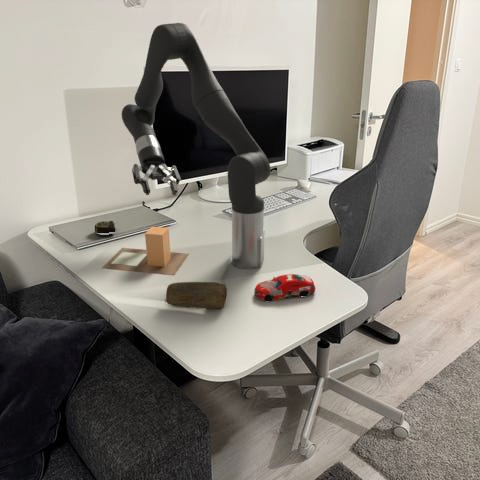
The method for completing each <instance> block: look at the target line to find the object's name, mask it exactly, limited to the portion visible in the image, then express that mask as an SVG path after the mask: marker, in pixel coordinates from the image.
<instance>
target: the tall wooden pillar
mask: <svg viewBox="0 0 480 480" xmlns="http://www.w3.org/2000/svg"><path fill="white" fill-rule="evenodd" d="M169 229H170V228H169V227H160V226H159V227H158V226H151V227H150V228H149V229H148V230H147V231H146V232H145V233H144V237H145V248H146V249H145V250H147V261H148V265H152V266H163V267H165V266H166V264H167V263H168V262H169V261H170V259H171V254H170V252H171V243H170V230H169Z"/></svg>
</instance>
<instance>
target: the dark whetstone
mask: <svg viewBox="0 0 480 480" xmlns="http://www.w3.org/2000/svg"><path fill="white" fill-rule="evenodd" d="M166 287H167V288H166V295H165V297H166V298H165V300H166V303H167V305H170V306H172V307H178V308H179V307H180V308H189V309H190V308H192V309H193V308H195V309H196V308H197V309H198V308H200V309H202V308H203V309H211V308H212V309H215V308H217V309H218V308H224V307H225V305H226V301H227V296H228V288H227V285H226V283H223V282H215V281H212V282H211V281H184V282H183V281H182V282H174V283H170V284H168V286H166Z"/></svg>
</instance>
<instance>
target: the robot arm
mask: <svg viewBox="0 0 480 480" xmlns="http://www.w3.org/2000/svg"><path fill="white" fill-rule="evenodd" d="M178 59H180V60H182V62H183V63H184V65H185V66H186V68H187V71H188V73H189V75H190V78H191V100H192V104H193V106H194V107H195V109H196V111H197V113H198V114H199V115H198V116H200V118H201V119H202V121H203V122H204V124H205V125H206V126H207V127H208V128H209V129H210V130H211V131H213V132H214V133H215V134H216V135H218V136H219V137H220V138H222V139H223V140H224V141H225V142H227V143H228V144H229V145H230V147H231V148H232V149H233V151H234V152H235V154H236V156H233V157H232V158H231V159H230V161H229V162H228V167H227V184H228V185H227V187H228V197H229V201H230V203H231V248H232V249H231V258H232V259H231V261H232V264H233V265H234V266H235V267H238V268H240V269H247V270H248V268H250V269H255V267H256V268H262V266H263V263H264V260H265V233H266V232H265V230H264V223H265V222H264V220H265V213H264V212H265V200H264V199H263V198H262V197H261V196H259V195H257V191H256V190H257V189H256V185H258V184H260V183H263V182H265V181H267V180H268V178H269V177H270V175H271V164H270V162H269V160H268V158H267V157H268V156H267V155H266V154H265V152H264V151H263V150H262V149H261V147H260V146H259V145H258V143H257V142H256V140H255V139H254V138H253V136H252V135H251V134H250V132H249V131H248V129H247V128H246V126H245V124H244V123H243V121H242V119H241V118H240V116H239V115H238V113H237V112H236V110H235V108H234V106H233V105H232V103H231V101H230V99H229V97H228V96H227V94H226V93H225V91H224V89H223V87H222V86H221V85H220V83H219V82H218V79H217V78H216V76H215V74H214V73H213V71H212V69H211V67H210V65H209V63H208V62H207V60H206V58H205V55H204V53H203V51H202V49H201V47H200V44H199V42H198V41H197V38H196V36H195V35H194V33H193V31H192V29H191V27H189V26H188V25H187V24H185V23H182V22H173V23H164V24H159V25H157V26H156V27H155V28H154V29H153V30H152V35H151V36H150V40H149V46H148V50H147V55H146V60H145V65H144V71H143V75H142V78H141V80H140V83H139V85H138V87H137V89H136V91H135V95H134V102H135V104H126V105H125V106H124V107H123V108H122V110H121V119H122V122H123V124H124V126H125V128H126V129H127V131H128V132H129V133H130V135H131V136H132V137H133V141H134V144H135V149H136V155H137V158H138V160H139V164H140V165H138V164H137V163H134V164H133V166H132V169H131V171H132V177H133V182H134V184H135V185H138V184H139V185H140V186H141V187H142V191H143V193H144V194H145V196H149V195H150V194H151V187H150V185H149V179H150V180H151V181H155V180H157V181H163V182H164V183H166V184H168V185H169V187H170V188H169V189H170V190H171V193H172V196H176V195H177V194H178V192H179V189H178V185H179V184H180V181H182V178H181V176H180V174H179V171H178V169H177V166H176V165H172V166H171V167H169V166H167V165H166V162H165V157H164V154H163V152H162V148H161V145H160V143H159V140H158V139H157V136H156V133H155V130H154V128H153V127H152V126H153V125H154V123H155V114H156V113H155V112H156V107H157V104H158V101H160V100H159V99H160V97H161V95H162V92H163V89H164V81H163V77H162V71H163V68H164V66H165V64H166V63H167V62H168V61H172V60H178ZM140 172H142V173H143V174H144V176H143V177H141V174H140ZM165 176H166V177H165Z"/></svg>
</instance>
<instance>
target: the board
mask: <svg viewBox="0 0 480 480" xmlns="http://www.w3.org/2000/svg"><path fill="white" fill-rule="evenodd" d="M170 254H171V259H170V261H169V262H168V263H167V264H166V266H165V267H163V266H152V265H148V261H147V250H146V249H142V248H141V249H140V248H128V247H122V248H120V249H119V250H118V251H117V252H116V253H115V254H114V255H113V256H112V257H111V258H110V259H109V260H108V261H107V262H106V263H105V264H104V265H103V266H102V267H101V269H107V270H117V271H125V272H126V271H127V272H138V273H146V274H157V275H165V276H175V275H176V274H177V272H178V271H179V269H180V268H181V267H182V265H183V264H184V262H185V261H186V259H187V258H188V256H189V255H190V253H183V252H174V251H170Z"/></svg>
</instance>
